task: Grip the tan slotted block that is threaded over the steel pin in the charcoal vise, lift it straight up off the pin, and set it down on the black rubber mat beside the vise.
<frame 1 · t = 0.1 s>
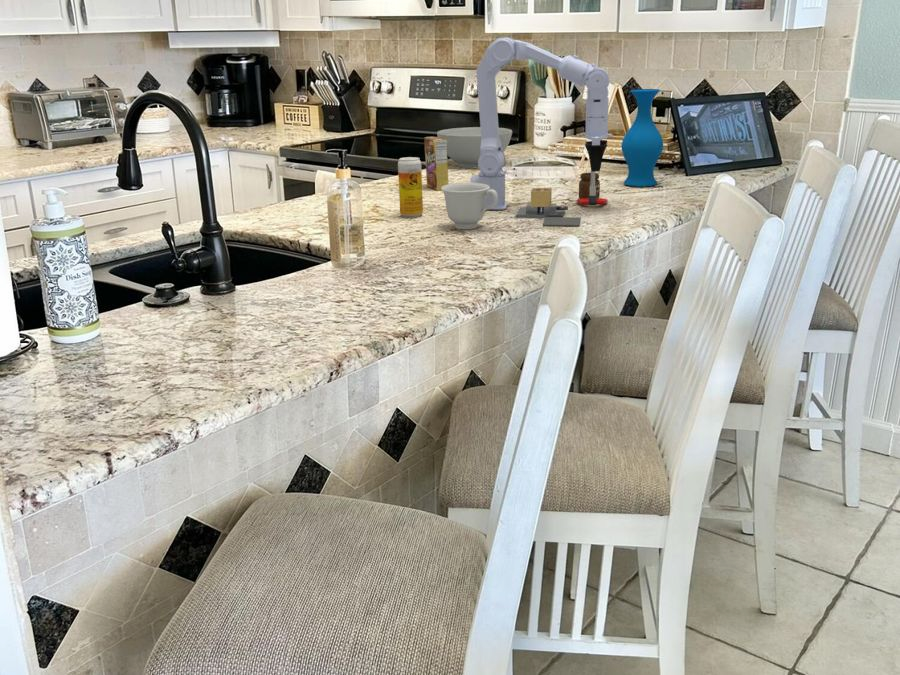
hand: (595, 169, 222), 10 cm above the worktop, tool pointing down, fingers open, 4 cm apart
vise: (541, 214, 221), on the worktop
decorative bowl: (475, 166, 303), on the worktop
vase: (640, 185, 258), on the worktop
utensil holder: (589, 199, 240), on the worktop
tan slotted block: (541, 204, 221), point 2 cm above the worktop, touching vise
beer can: (411, 216, 224), on the worktop
teacup: (471, 228, 209), on the worktop
candy box: (437, 188, 262), on the worktop
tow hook: (592, 204, 232), on the worktop, touching gripper
mat: (562, 222, 211), on the worktop
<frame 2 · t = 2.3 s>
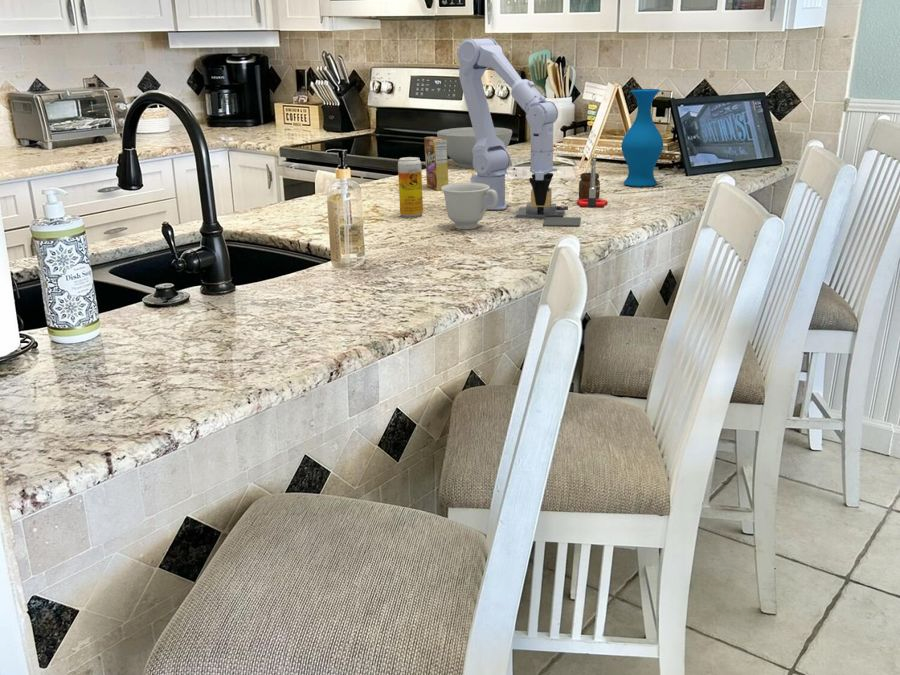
hand: (541, 203, 220), 3 cm above the worktop, tool pointing down, fingers closed on tan slotted block, 5 cm apart
tan slotted block: (541, 204, 221), point 2 cm above the worktop, touching gripper, vise
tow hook: (591, 205, 232), on the worktop
everything else where it was.
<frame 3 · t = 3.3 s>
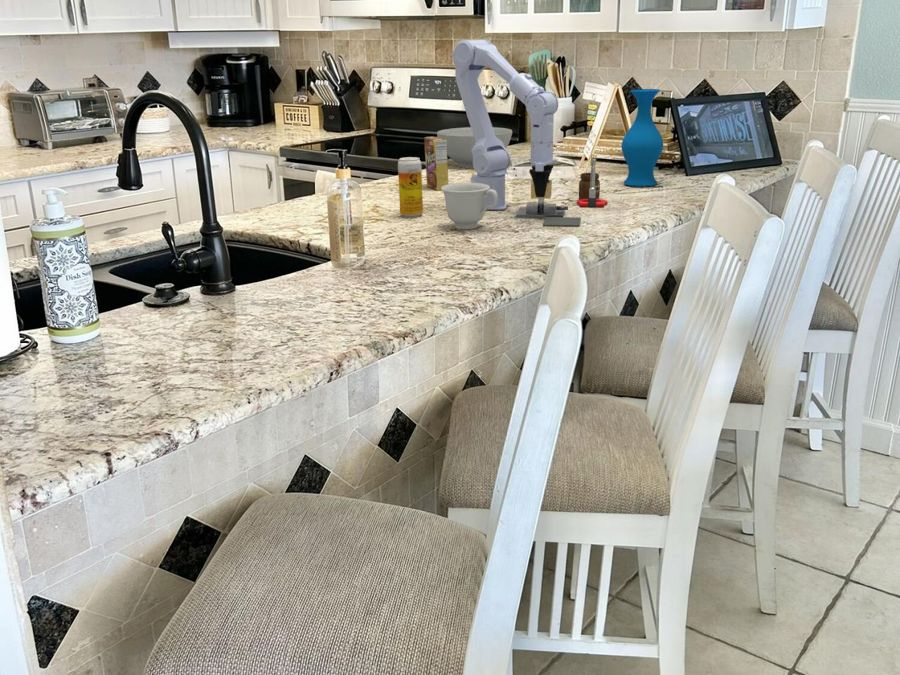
hand: (541, 194, 220), 5 cm above the worktop, tool pointing down, fingers closed on tan slotted block, 5 cm apart
tan slotted block: (541, 196, 220), point 5 cm above the worktop, touching gripper
everything else where it was.
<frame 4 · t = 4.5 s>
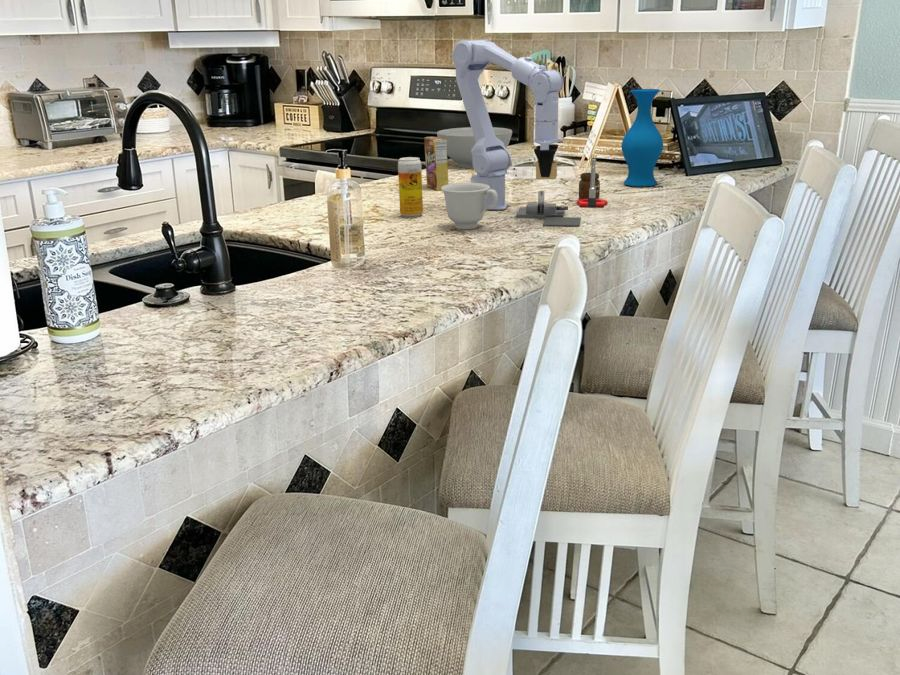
hand: (546, 175, 216), 10 cm above the worktop, tool pointing down, fingers closed on tan slotted block, 5 cm apart
tan slotted block: (546, 177, 216), point 10 cm above the worktop, touching gripper
everything else where it was.
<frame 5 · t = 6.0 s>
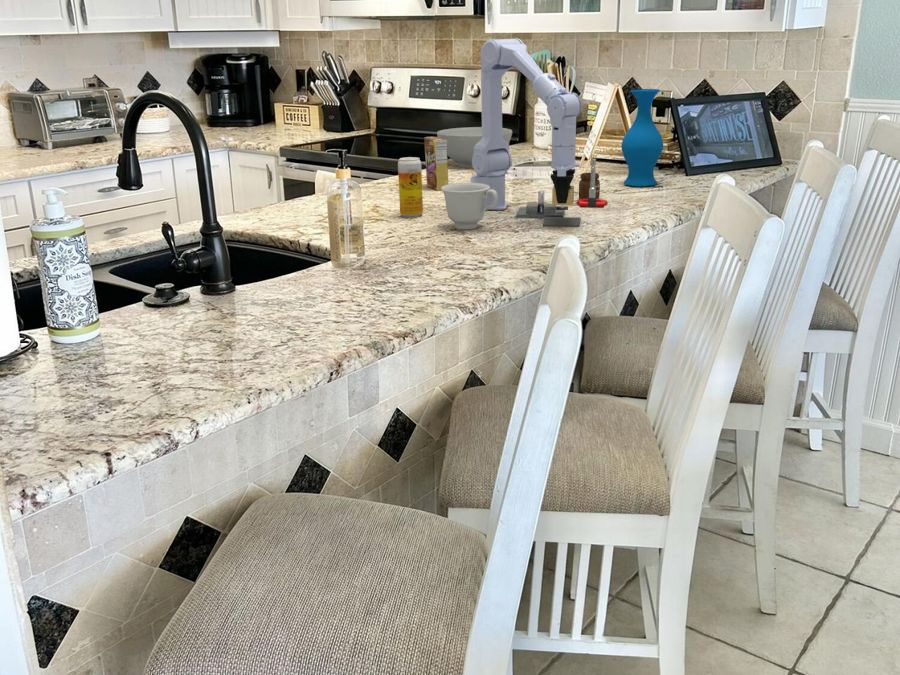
hand: (562, 201, 209), 5 cm above the worktop, tool pointing down, fingers closed on tan slotted block, 5 cm apart
tan slotted block: (562, 203, 209), point 5 cm above the worktop, touching gripper
everything else where it was.
when the fingers open (2 cm above the worktop, at t = 7.2 s): tan slotted block stays where it is, resting on mat.
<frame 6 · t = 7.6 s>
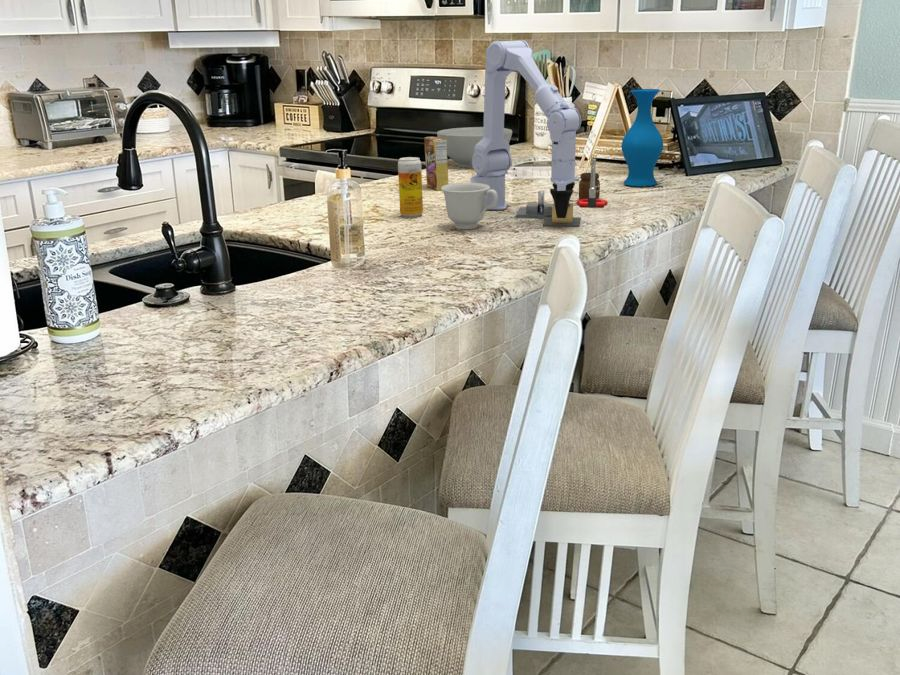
hand: (562, 214, 210), 2 cm above the worktop, tool pointing down, fingers open, 7 cm apart
tan slotted block: (562, 220, 211), resting on mat
everything else where it was.
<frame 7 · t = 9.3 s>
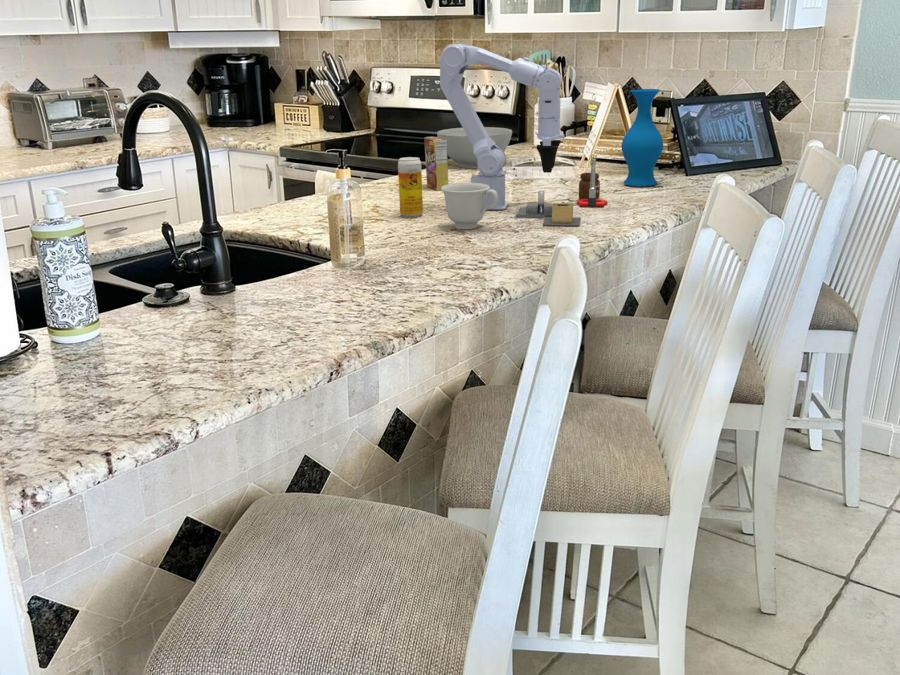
hand: (548, 170, 224), 10 cm above the worktop, tool pointing down, fingers open, 7 cm apart
nothing on the worktop moved.
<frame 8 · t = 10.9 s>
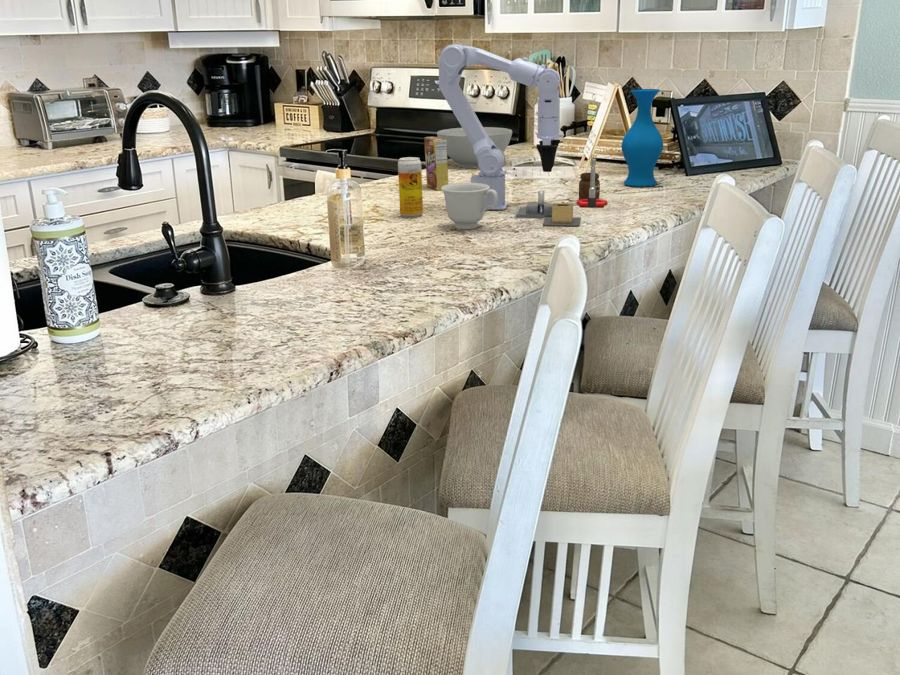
hand: (548, 169, 225), 10 cm above the worktop, tool pointing down, fingers open, 7 cm apart
nothing on the worktop moved.
at the end: tan slotted block inside the target area on the mat (0.1 cm from its centre), point 0.4 cm above the mat's base; tan slotted block tilted 0°; tan slotted block moved 11.9 cm from its start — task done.
